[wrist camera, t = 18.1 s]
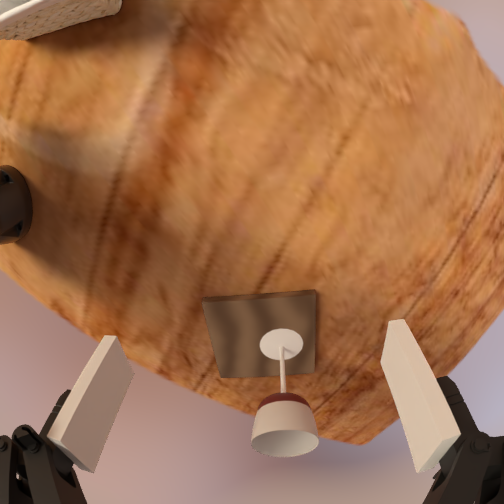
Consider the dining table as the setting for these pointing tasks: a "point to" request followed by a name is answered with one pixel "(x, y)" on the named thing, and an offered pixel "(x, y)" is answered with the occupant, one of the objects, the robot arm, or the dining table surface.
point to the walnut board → (260, 331)
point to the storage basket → (49, 15)
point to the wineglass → (283, 406)
